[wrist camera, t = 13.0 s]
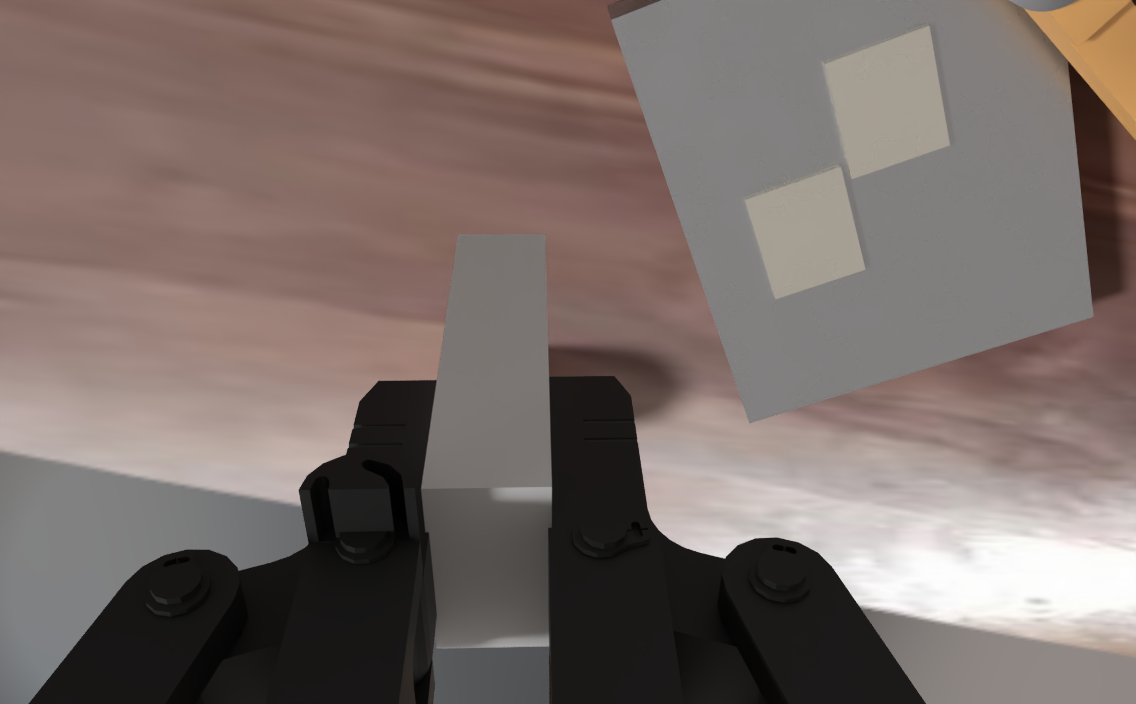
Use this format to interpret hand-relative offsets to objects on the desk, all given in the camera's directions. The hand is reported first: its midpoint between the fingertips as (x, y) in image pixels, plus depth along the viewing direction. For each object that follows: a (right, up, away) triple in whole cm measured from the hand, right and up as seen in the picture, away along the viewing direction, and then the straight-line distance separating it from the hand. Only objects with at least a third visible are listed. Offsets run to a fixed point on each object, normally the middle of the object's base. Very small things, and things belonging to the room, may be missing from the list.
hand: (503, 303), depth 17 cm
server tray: (+14, +7, +25) cm, 29 cm away
